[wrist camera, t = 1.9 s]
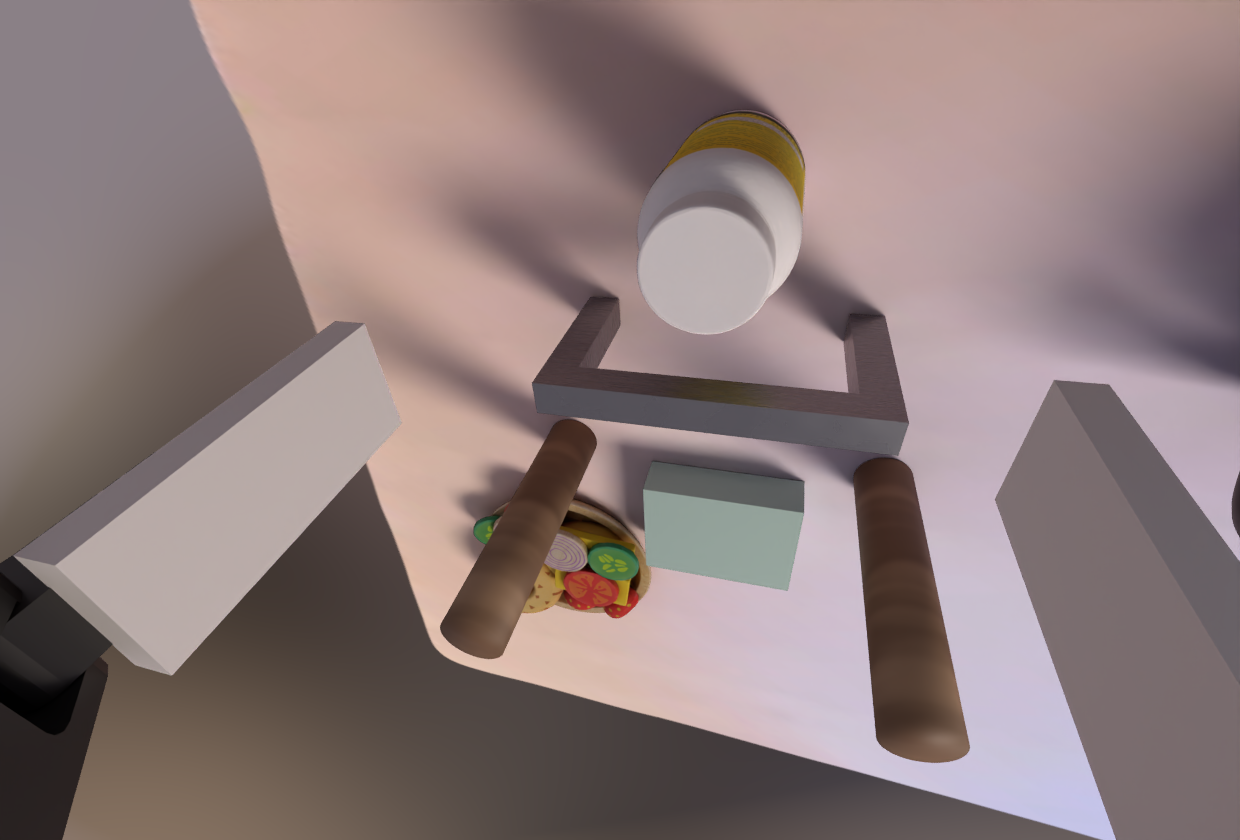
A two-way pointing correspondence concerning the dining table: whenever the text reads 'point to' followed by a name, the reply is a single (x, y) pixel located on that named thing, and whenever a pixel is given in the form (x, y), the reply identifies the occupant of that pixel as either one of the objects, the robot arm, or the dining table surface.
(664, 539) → the stand
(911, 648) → the post near
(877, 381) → the rail hurdle
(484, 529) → the toy food set
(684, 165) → the supplement bottle
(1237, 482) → the mug
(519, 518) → the post far
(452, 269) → the dining table surface
